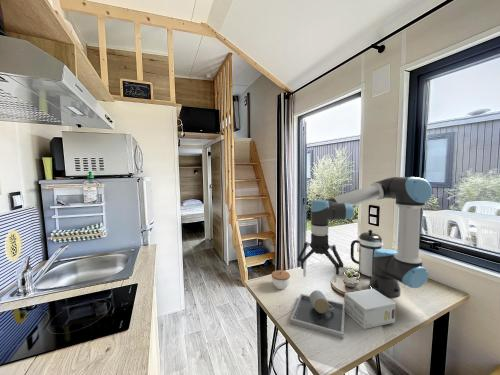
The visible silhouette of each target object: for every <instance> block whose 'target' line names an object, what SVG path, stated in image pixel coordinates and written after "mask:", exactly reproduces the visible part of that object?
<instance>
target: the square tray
mask: <svg viewBox="0 0 500 375" xmlns="http://www.w3.org/2000/svg"><path fill="white" fill-rule="evenodd" d="M309 297H310V295H309V294H302V293H300V294H299V297H298V300H297V302H296V304H295V306H294V309H293V311H292V314H291V316H290V319H289V324H291V325H294V326H297V327H301V328H304V329H307V330H311V331H315V332H318V333H320V334H321V333H322V334H326V335H328V336H332V337H335V338H338V339H342V340H344V339H345V338H344V337H345V321H346V320H345V318H346V312H345V307H344V302H343V303H342V302H339V301H333V300H331V299H330V300H329V299H327V301H328V303H329V304H330V305H332V306H333V308H334V310H333V312H330V311H327V312H325V313H318V312H317V311H316V310H315V309H314V307H313V306H312V304H311V302H310V299H309Z"/></svg>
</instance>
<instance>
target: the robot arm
mask: <svg viewBox="0 0 500 375" xmlns="http://www.w3.org/2000/svg"><path fill="white" fill-rule="evenodd" d="M432 195H433V188H432V186H431V184H430V182H428V181H427V180H426V179H424V178H423V177H422V178H421V177H417V176H416V177H415V176H410V177H409V176H408V177H407V176H392V177H387V178H384V179H382V180H378V181H375V182H372V183H371V184H370V185H368V186H365V187H362V188H358V189H355V190H353V191H349V192H345V193H343V194H340V195H336V196H333V197H330V198H326V199H323V198H322V199H320V198H319V199H314V200H312V201H311V204H310V216H311V217H310V220H311V221H310V232H311V234H310V242H308V241H305V242H304V243H303V248H302V250H301V252H300V253H299V256H298V257H297V259H296V260H297V261H298V262H300V264H301V265H300V268H301V269H302V273H303V277H304V278H305V277H306V276H307V260H308V258H310V257H311V255H313V254H314V253H315V254H317V255H319V254H320V255H325V257H326V258H327V259H328V260H329V261H330V262H331V263H332V264H333V266H334V267H333V283H335V284H336V282H337V276H339V275H340V268H341V269H342V268H344V263H343V261H342V258H341V257H340V254H339V253H338V251H337V248H336V247H337V246H336V244H332V245H329V235H328V234H329V221H343V220H349V219H350V220H351V219H352V218H353V217H354V213H355V212H354V211H355V209H354V206H357V205H360V204H363V203H366V202H367V203H368V202H370V201H373V200H382V199H394V200H395V205H397V207H398V224H397V225H398V227H397V230H398V231H397V250H394V249H388V248H381V249H377V250H375V251H374V256H373V276H372V277H371V278H370V280H369V285H370V286H371V287H372V288H373V289H375V290H376V291H378V292H379V293H381V294H383V295H384V296H386V297H391V298H392V297H393V298H394V297H399V296H401V292H402V291H401V290H402V288H401V286H400V284H399V283H401V284H403V285H404V286H407V287H409V288H410V289H419V288H421V287H423V286H424V285H425V284H426V283H427V282H428V279H429V271H428V270H427V268H426V267H424V266H423V259H422V258H421V257H420V256H419V255H420V230H421V210H422V208H424V207H425V205H426V203H427V202H428V201H429V200H430V199H431V198H432ZM309 247H310V248H311V250H310V251H309V252H308V253H306V255H305V256H304V257H303V255H304V254H305V251H306V250H307V248H309ZM329 249H330V251H332V253H333V255H334V257H335V258H336V259H335V258H334V257H333V256H332V254H331V253H330V252H329ZM336 260H337V261H336ZM370 286H369V287H370Z"/></svg>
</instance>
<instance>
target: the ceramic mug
mask: <svg viewBox="0 0 500 375" xmlns="http://www.w3.org/2000/svg"><path fill="white" fill-rule="evenodd" d="M309 296H310V297H309V299H310V302H311V304H312V306H313V307H314V309H315V310H316V311H317V312H318V313H325V312H327V311H330V312H333V310H334V308H333V306H332V305H330V304H329V303H328V301H327V300H328V299H327V298H326V296H325V294H324V293H323V292H322V291H320V290H314V291H312V292H311V293H310V295H309Z"/></svg>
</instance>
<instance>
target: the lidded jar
mask: <svg viewBox="0 0 500 375" xmlns="http://www.w3.org/2000/svg"><path fill="white" fill-rule="evenodd" d="M290 280H291V274H290V272H288V271H287V270H282V269H281V270H278V269H277V270H274V271H272V272H271V282H272V284H273V286H274V287H275V288H276V289H277V290H285V289H287V287H288V286H289V284H290Z"/></svg>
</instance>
